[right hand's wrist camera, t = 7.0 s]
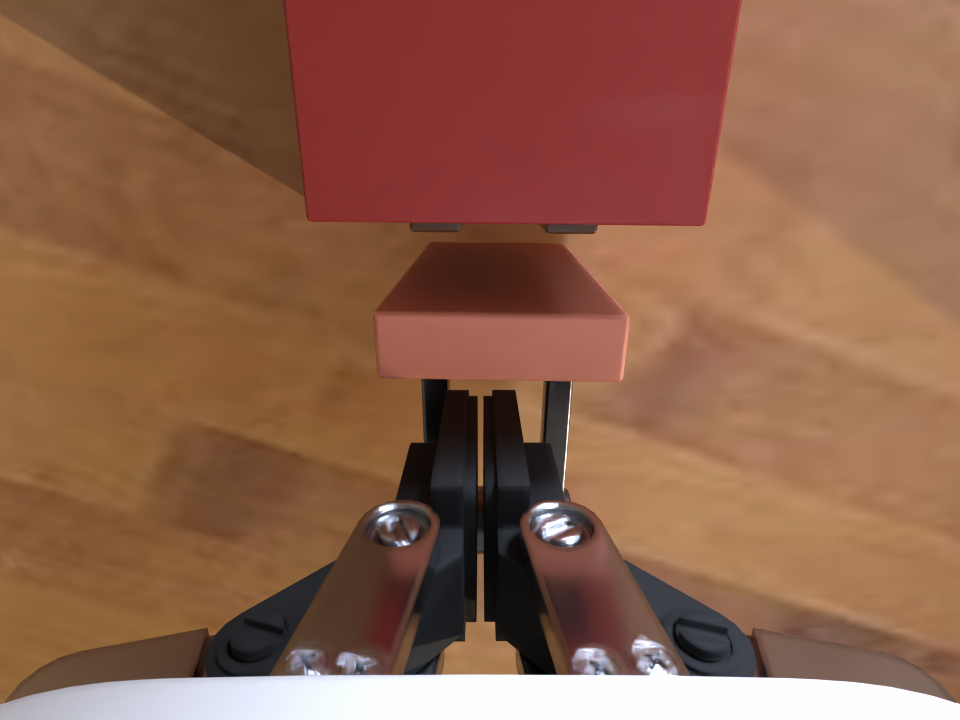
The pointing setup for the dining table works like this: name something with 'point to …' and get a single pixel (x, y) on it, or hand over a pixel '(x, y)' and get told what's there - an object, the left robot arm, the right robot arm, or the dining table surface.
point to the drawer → (501, 327)
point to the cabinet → (510, 109)
